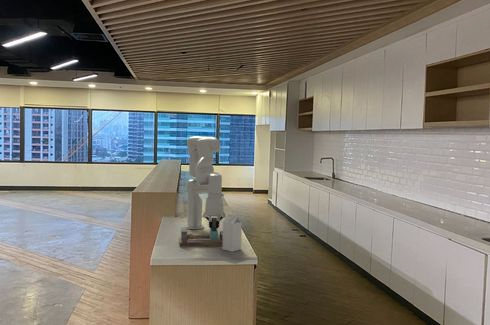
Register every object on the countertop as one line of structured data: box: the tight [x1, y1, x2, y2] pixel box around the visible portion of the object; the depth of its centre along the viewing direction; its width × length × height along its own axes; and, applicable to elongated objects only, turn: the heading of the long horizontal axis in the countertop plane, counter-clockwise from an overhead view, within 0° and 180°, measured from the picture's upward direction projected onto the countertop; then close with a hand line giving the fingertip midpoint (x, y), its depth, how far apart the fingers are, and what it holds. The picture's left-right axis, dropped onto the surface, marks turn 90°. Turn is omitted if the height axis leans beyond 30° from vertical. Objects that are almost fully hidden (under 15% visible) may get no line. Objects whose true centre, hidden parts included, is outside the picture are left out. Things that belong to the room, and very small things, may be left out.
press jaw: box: [209, 217, 219, 239], centre depth 249 cm, size 7×4×12 cm, turn 10°
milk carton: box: [222, 213, 243, 253], centre depth 236 cm, size 7×7×19 cm
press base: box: [178, 227, 223, 247], centre depth 248 cm, size 12×25×8 cm, turn 99°
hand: (213, 228), depth 249 cm, fingers closed on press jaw, 3 cm apart
